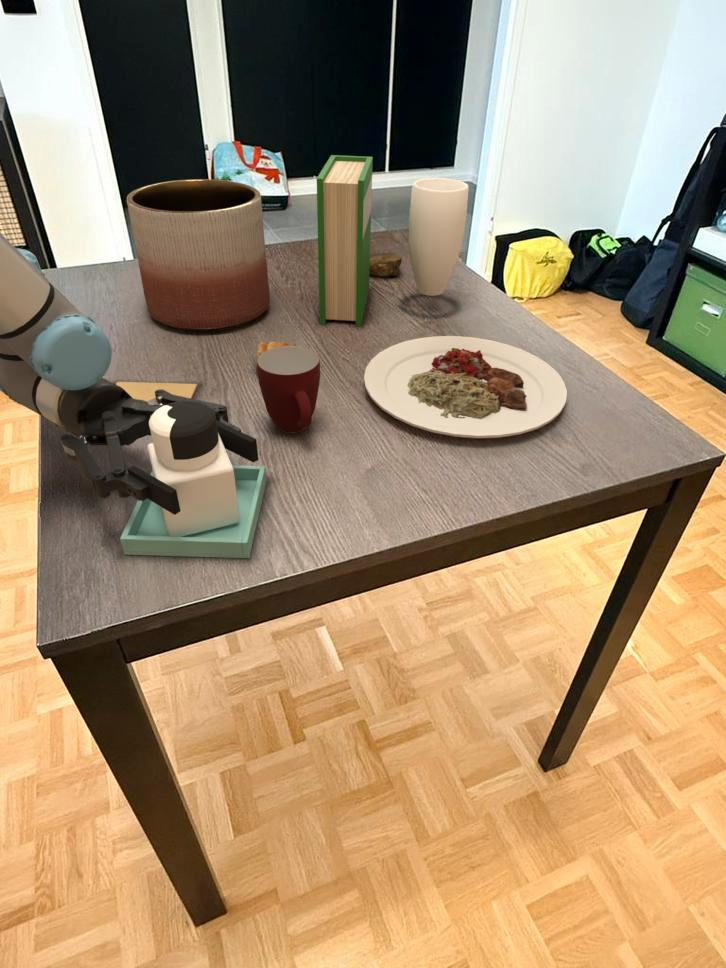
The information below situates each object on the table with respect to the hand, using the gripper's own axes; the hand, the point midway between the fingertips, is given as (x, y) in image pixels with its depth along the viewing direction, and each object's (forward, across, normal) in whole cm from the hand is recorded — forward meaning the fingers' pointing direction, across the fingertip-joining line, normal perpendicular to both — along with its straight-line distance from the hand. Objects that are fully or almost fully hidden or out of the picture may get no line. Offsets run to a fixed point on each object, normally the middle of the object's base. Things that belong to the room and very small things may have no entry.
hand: (217, 475), depth 64 cm
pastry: (-21, -32, -8) cm, 39 cm away
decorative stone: (-34, -78, -8) cm, 85 cm away
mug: (-7, -20, -8) cm, 23 cm away
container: (-4, 0, -7) cm, 8 cm away
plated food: (+6, -44, -8) cm, 45 cm away
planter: (-46, -40, -8) cm, 62 cm away
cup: (-15, -68, -8) cm, 70 cm away
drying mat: (-29, -12, -8) cm, 32 cm away
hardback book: (-28, -58, -8) cm, 65 cm away
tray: (-4, 0, -8) cm, 9 cm away
